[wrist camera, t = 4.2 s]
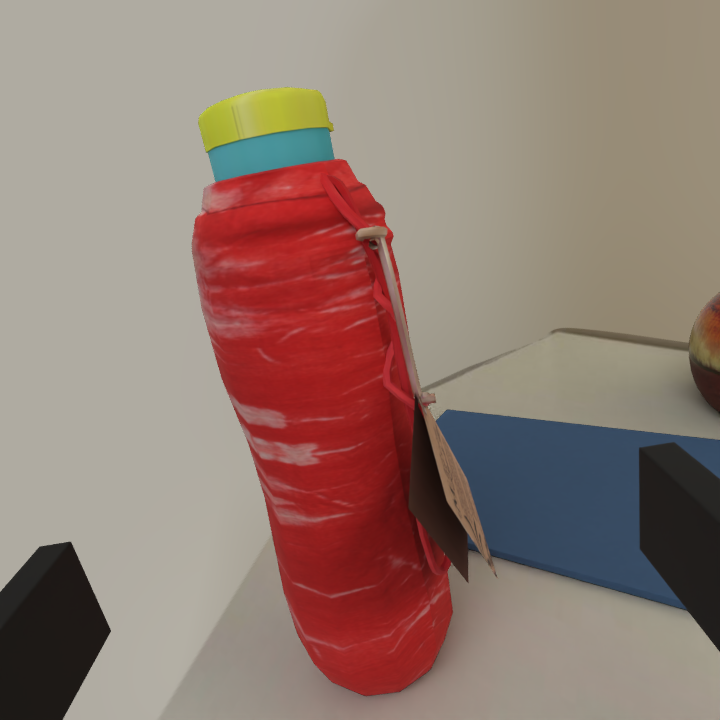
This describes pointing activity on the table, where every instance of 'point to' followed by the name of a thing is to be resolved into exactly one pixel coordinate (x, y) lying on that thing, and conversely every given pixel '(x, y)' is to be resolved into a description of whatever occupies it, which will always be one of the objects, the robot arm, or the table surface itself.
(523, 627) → the table surface
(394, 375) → the water bottle
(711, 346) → the vase
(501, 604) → the table surface
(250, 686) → the table surface
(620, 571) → the blue mat
